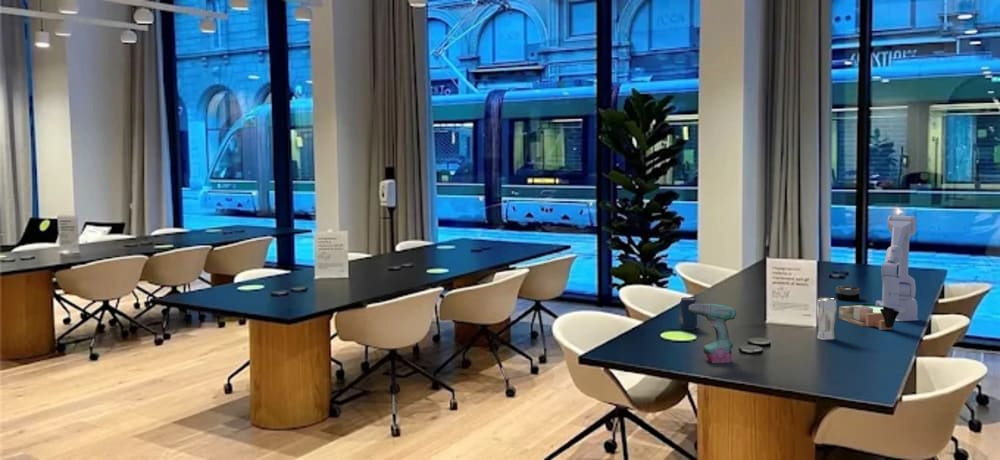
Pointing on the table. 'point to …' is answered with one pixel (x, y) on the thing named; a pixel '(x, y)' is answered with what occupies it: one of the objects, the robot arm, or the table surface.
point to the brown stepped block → (876, 321)
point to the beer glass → (826, 318)
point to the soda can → (687, 313)
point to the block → (861, 313)
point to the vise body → (849, 314)
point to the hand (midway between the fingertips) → (889, 327)
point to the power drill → (717, 330)
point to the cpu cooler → (847, 293)
